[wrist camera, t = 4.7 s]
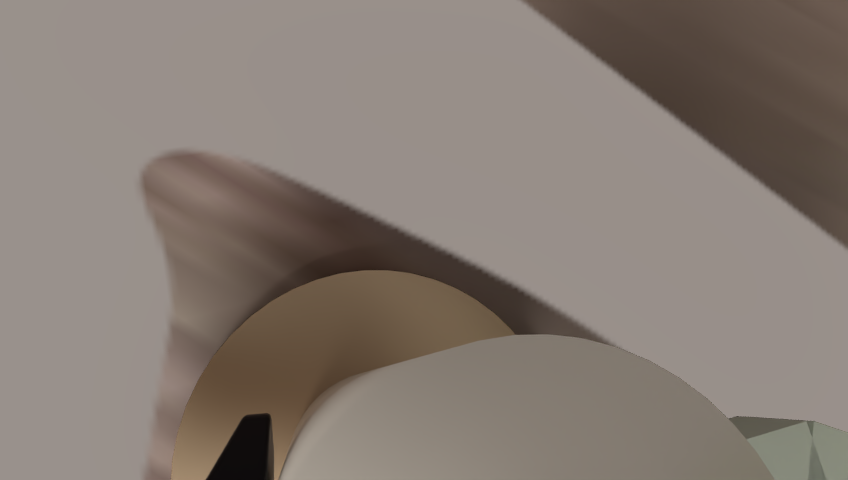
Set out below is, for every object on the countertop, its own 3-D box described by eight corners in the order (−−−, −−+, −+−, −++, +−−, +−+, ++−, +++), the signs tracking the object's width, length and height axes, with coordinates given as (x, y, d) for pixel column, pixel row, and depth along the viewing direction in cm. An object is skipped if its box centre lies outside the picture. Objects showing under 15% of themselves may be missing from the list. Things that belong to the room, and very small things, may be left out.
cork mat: (505, 722, 15) (513, 735, 15) (107, 618, 14) (97, 628, 14) (589, 336, 18) (598, 334, 17) (261, 226, 17) (259, 220, 16)
